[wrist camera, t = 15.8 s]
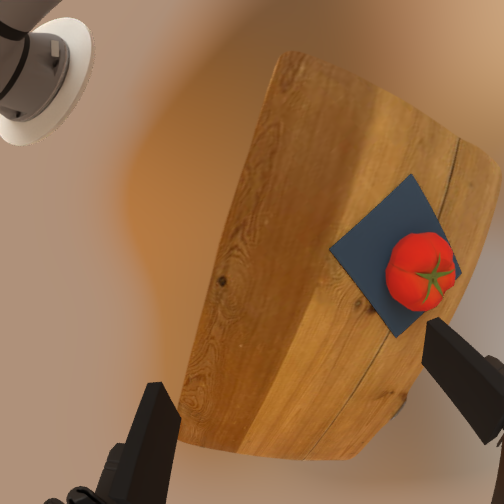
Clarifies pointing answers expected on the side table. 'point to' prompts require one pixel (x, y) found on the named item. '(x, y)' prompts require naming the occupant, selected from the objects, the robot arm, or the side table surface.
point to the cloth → (387, 248)
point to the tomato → (420, 271)
